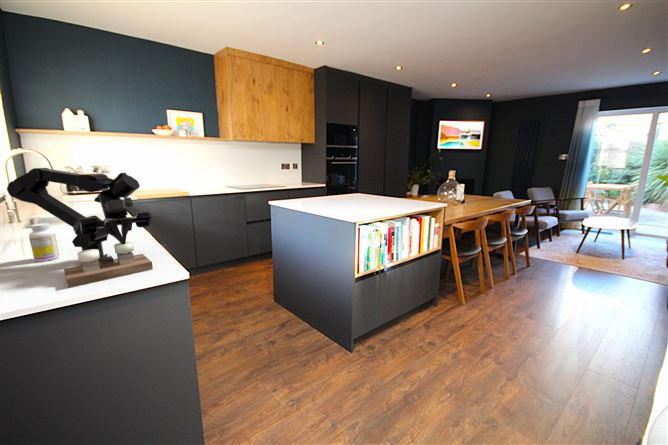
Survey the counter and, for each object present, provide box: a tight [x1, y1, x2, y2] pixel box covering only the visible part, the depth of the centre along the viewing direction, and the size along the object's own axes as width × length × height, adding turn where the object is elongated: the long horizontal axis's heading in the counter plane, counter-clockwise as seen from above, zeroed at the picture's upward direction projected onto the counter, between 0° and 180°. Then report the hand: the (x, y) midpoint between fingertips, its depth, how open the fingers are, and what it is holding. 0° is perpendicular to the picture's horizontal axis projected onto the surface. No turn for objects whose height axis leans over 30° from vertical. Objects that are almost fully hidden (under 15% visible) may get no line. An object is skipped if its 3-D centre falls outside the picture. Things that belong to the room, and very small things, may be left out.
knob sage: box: [113, 241, 135, 255], centre depth 97 cm, size 5×5×6 cm
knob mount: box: [63, 251, 154, 289], centre depth 95 cm, size 12×21×6 cm, turn 134°
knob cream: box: [76, 249, 100, 263], centre depth 91 cm, size 5×5×6 cm
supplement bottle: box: [28, 222, 60, 262], centre depth 107 cm, size 7×7×13 cm
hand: (124, 243), depth 96 cm, fingers closed, pressing on knob sage
